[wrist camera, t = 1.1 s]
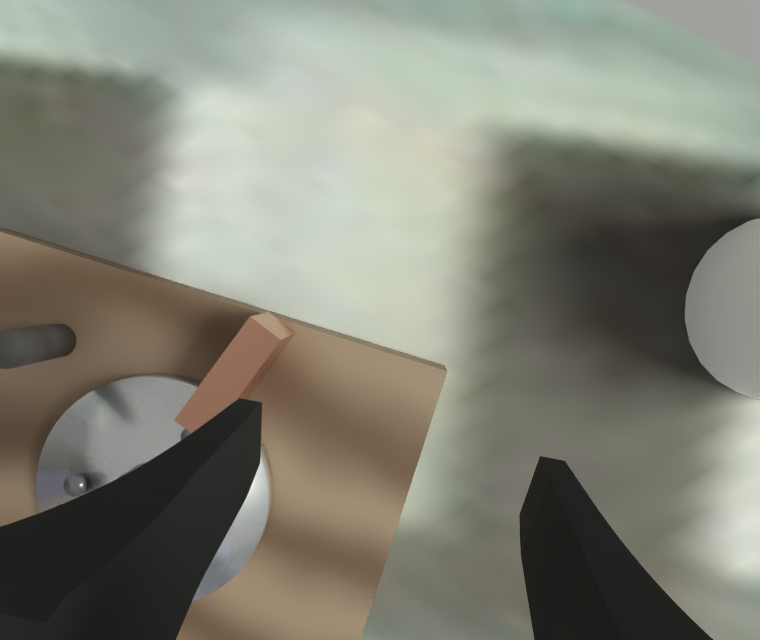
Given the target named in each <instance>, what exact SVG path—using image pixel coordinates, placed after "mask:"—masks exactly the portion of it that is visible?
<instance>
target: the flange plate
mask: <svg viewBox="0 0 760 640" xmlns="http://www.w3.org/2000/svg"><path fill="white" fill-rule="evenodd" d="M295 333H296V332H294V331H293V330H292V329H290V328H289V327H288V326H286V325H285V324H284V323H282V322H281V321H280V320H278V319H277V318H276V317H274V316H273V315H272V314H270V313H269V312H266V313H262V314H258V315H254V316H250V317H249V318H248V320H247V321H246V322H245V324H244V325H243V326H242V328H241V329H240V331H239V332H238V333H237V335H236V336H235V337H234V339H233V340H232V341H231V343H230V344H229V346H228V347H227V348H226V350H225V351H224V352H223V354H222V355H221V356H220V358H219V359H218V361H217V362H216V363H215V365H214V366H213V367H212V369H211V370H210V371H209V373H208V374H207V376H206V377H205V378H204V380H203V381H202V382H198V381H195V380H192V379H190V378H187V377H182V376H177V375H172V374H158V373H155V374H141V375H136V376H131V377H127V378H124V379H121V380H118V381H115V382H112V383H109V384H107V385H104V386H101V387H99V388H97V389H95V390H93V391H91V392H89V393H88V394H86V395H85V396H83V397H82V398H81V399H79V400H78V401H76V402H75V403H74V404H73V405H72V406H71V407H70V408H69V409H68V410H66V411H65V413H64V414H63V415H62V416H61V417H60V419H59V420H58V421H57V422H56V424H55V425H54V427H53V429H52V430H51V432H50V434H49V435H48V437H47V440H46V442H45V444H44V447H43V449H42V452H41V456H40V459H39V463H38V470H37V477H36V495H37V503H38V509H39V513H41V512H43V511H46V510H49V509H51V508H54V507H56V506H59V505H61V504H64V503H66V502H68V501H71V500H73V499H75V498H77V497H79V496H82V495H84V494H86V493H88V492H91V491H93V490H95V489H97V488H100V487H102V486H104V485H106V484H108V483H110V482H112V481H114V480H116V479H118V478H120V477H121V476H123V475H125V474H127V473H129V472H131V471H133V470H135V469H136V468H138V467H140V466H141V465H143V464H145V463H147V462H148V461H150V460H151V459H153V458H155V457H156V456H158V455H159V454H161V453H162V452H164V451H166V450H167V449H169V448H170V447H172V446H173V445H175V444H176V443H178V442H179V441H181V440H182V439H184V438H185V437H187V436H188V435H189V434H191V433H192V432H194V431H195V430H197V429H198V428H199V427H201V426H202V425H203V424H205V423H206V422H208V421H209V420H210V419H212V418H213V417H214V416H216V415H217V414H218V413H220V412H221V411H222V410H224V409H225V408H226V407H228V406H229V405H230V404H232V403H233V402H235V401H236V400H238V399H239V398H242V399H246V398H247V397H248V396H249V394H250V393H251V392H252V390H253V389H254V388H255V386H256V385H257V384H258V382H259V381H260V380H261V378H262V377H263V376H264V374H265V373H266V371H267V370H268V369H269V367H270V366H271V365H272V363H273V362H274V361H275V359H276V358H277V357H278V355H279V354H280V353H281V351H282V350H283V349H284V347H285V346H286V345H287V343H288V342H289V341H290V339H291V338H292V337H293V335H294V334H295ZM272 502H273V478H272V470H271V466H270V461H269V457H268V454H267V452H266V449H265V446H264V443H263V442H262V440H261V457H260V465H259V467H258V470H257V472H256V475H255V478H254V480H253V483H252V485H251V488H250V490H249V493H248V495H247V497H246V499H245V501H244V503H243V505H242V507H241V509H240V511H239V512H238V514H237V516H236V518H235V520H234V522H233V524H232V525H231V527H230V529H229V531H228V533H227V535H226V536H225V538H224V540H223V542H222V544H221V546H220V547H219V549H218V551H217V553H216V555H215V556H214V558H213V560H212V562H211V564H210V566H209V567H208V569H207V571H206V573H205V575H204V577H203V579H202V581H201V583H200V585H199V587H198V589H197V591H196V593H195V596H194V598H193V600H192V601H194V600H197V599H200V598H202V597H204V596H206V595H209V594H211V593H213V592H214V591H216V590H217V589H219V588H221V587H222V586H224V585H225V584H226V583H227V582H229V581H230V580H231V579H232V578H233V577H234V576H236V575H237V573H238V572H239V571H240V570H241V569H242V568H243V567H244V566H245V564H246V563H247V561H248V560H249V558H250V557H251V555H252V554H253V552H254V551H255V549H256V547H257V545H258V543H259V541H260V539H261V537H262V535H263V533H264V531H265V529H266V526H267V523H268V520H269V517H270V513H271V507H272Z"/></svg>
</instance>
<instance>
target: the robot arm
mask: <svg viewBox="0 0 760 640" xmlns="http://www.w3.org/2000/svg"><path fill="white" fill-rule="evenodd" d="M261 426H262V402H258V401H252V400H247V399H242V398H239V399H238V400H236V401H235V402H233V403H232V404H230V405H229V406H228V407H226V408H225V409H224V410H222V411H221V412H220V413H218V414H217V415H216V416H214V417H213V418H212V419H210V420H209V421H208V422H206V423H205V424H203V425H202V426H201V427H199V428H198V429H197V430H195V431H194V432H192V433H191V434H189V435H188V436H187V437H185V438H184V439H182V440H181V441H179V442H178V443H176V444H175V445H173V446H172V447H170V448H169V449H167V450H166V451H164V452H162V453H161V454H159V455H158V456H156V457H155V458H153V459H151V460H150V461H148V462H147V463H145V464H143V465H141V466H140V467H138V468H136V469H135V470H133V471H131V472H129V473H127V474H125V475H123V476H121V477H120V478H118V479H116V480H114V481H112V482H110V483H108V484H106V485H104V486H102V487H100V488H97V489H95V490H93V491H91V492H88V493H86V494H84V495H82V496H79V497H77V498H75V499H73V500H71V501H68V502H66V503H64V504H61V505H59V506H56V507H54V508H51V509H49V510H46V511H43V512H41V513H38V514H35V515H33V516H30V517H27V518H24V519H22V520H19V521H16V522H13V523H10V524H7V525H4V526H1V527H0V640H176V638H177V636H178V633H179V631H180V629H181V626H182V624H183V622H184V619H185V617H186V615H187V612H188V610H189V607H190V605H191V603H192V600H193V598H194V596H195V593H196V591H197V589H198V587H199V585H200V583H201V581H202V579H203V577H204V575H205V573H206V571H207V569H208V567H209V566H210V564H211V562H212V560H213V558H214V556H215V555H216V553H217V551H218V549H219V547H220V546H221V544H222V542H223V540H224V538H225V536H226V535H227V533H228V531H229V529H230V527H231V525H232V524H233V522H234V520H235V518H236V516H237V514H238V512H239V511H240V509H241V507H242V505H243V503H244V501H245V499H246V497H247V495H248V493H249V490H250V488H251V485H252V483H253V480H254V478H255V475H256V472H257V470H258V467H259V465H260V457H261ZM520 545H521V558H522V565H523V571H524V577H525V584H526V590H527V596H528V602H529V608H530V614H531V621H532V627H533V633H534V639H535V640H713V639H712V638H711V637H710V636H708V635H707V634H706V633H705V632H704V631H703V630H702V629H701V628H700V627H699V626H698V625H697V624H696V623H695V622H694V621H693V620H692V619H691V618H690V617H689V616H688V615H687V614H686V613H685V612H684V611H683V610H682V609H681V608H680V607H679V606H678V605H677V604H676V603H675V602H674V601H673V600H672V599H671V598H670V597H669V596H668V595H667V594H666V593H665V591H664V590H663V589H662V588H661V587H660V586H659V585H658V584H657V583H656V582H655V581H654V580H653V578H652V577H651V576H650V575H649V574H648V573H647V572H646V570H645V569H644V568H643V567H642V566H641V565H640V563H639V562H638V561H637V560H636V558H635V557H634V556H633V555H632V554H631V552H630V551H629V550H628V549H627V547H626V546H625V545H624V544H623V542H622V541H621V540H620V539H619V537H618V536H617V535H616V533H615V532H614V531H613V529H612V528H611V527H610V525H609V524H608V523H607V521H606V520H605V519H604V517H603V516H602V514H601V513H600V512H599V510H598V509H597V507H596V506H595V505H594V503H593V502H592V500H591V499H590V497H589V496H588V494H587V493H586V491H585V490H584V489H583V487H582V486H581V484H580V483H579V481H578V480H577V478H576V477H575V475H574V474H573V472H572V471H571V469H570V468H569V466H568V465H567V464H566V462H565V461H562V460H557V459H552V458H547V457H541V456H540V458H539V461H538V464H537V467H536V470H535V472H534V475H533V478H532V481H531V484H530V487H529V489H528V492H527V495H526V498H525V501H524V504H523V506H522V509H521V512H520Z"/></svg>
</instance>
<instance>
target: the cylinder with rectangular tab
mask: <svg viewBox="0 0 760 640" xmlns="http://www.w3.org/2000/svg"><path fill="white" fill-rule="evenodd" d="M685 323H686V328H687V333H688V337H689V342H690V344H691V346H692V348H693V350H694V352H695V354H696V355H697V357H698V359H699V361H700V363H701V364H702V365H703V366H704V367H705V368H706V369H707V370H708V372H709V373H710V374H711V375H712V376H713V377H714V378H715V379H716V380H717V381H719V382H720V383H722V384H724V385H725V386H727V387H729V388H730V389H732V390H734V391H735V392H737V393H740V394H743V395H746V396H749V397H752V398H755V399H758V400H760V218H758V219H754V220H750V221H748V222H746V223H744V224H742V225H740V226H738V227H737V228H735V229H733V230H731V231H729V232H727V233H726V234H725V235H724V236H723V237H722V238H720V239H719V240H718V241H717V242H716V243H715V244H714V245H713V246H712V247H711V248H710V249H708V250H707V252H706V254H705V255H704V257H703V258H702V260H701V261H700V263H699V264H698V266H697V267H696V269H695V270H694V272H693V275H692V278H691V281H690V284H689V287H688V290H687V293H686V304H685Z"/></svg>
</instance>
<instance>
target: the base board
mask: <svg viewBox="0 0 760 640" xmlns="http://www.w3.org/2000/svg"><path fill="white" fill-rule="evenodd" d="M266 312H269V313H270V314H272V315H273V316H274V317H276V318H277V319H278V320H280V321H281V322H282V323H284V324H285V325H286V326H288V327H289V328H290V329H292V330H293V331H294V332H296V333H295V334H294V335H293V337H292V338H291V339H290V341H289V342H288V343H287V345H286V346H285V347H284V349H283V350H282V351H281V353H280V354H279V355H278V357H277V358H276V359H275V361H274V362H273V363H272V365H271V366H270V367H269V369H268V370H267V371H266V373H265V374H264V376H263V377H262V378H261V380H260V381H259V382H258V384H257V385H256V386H255V388H254V389H253V390H252V392H251V393H250V394H249V396H248V397H247V398H246V399H247V400H252V401H258V402H262V426H261V440H262V442H263V443H264V446H265V449H266V452H267V454H268V457H269V461H270V466H271V470H272V478H273V502H272V507H271V513H270V517H269V520H268V523H267V526H266V529H265V531H264V533H263V535H262V537H261V539H260V541H259V543H258V545H257V547H256V549H255V551H254V552H253V554H252V555H251V557H250V558H249V560H248V561H247V563H246V564H245V566H244V567H243V568H242V569H241V570H240V571H239V572H238V573H237V575H236V576H234V577H233V578H232V579H231V580H230V581H229V582H227V583H226V584H225V585H224V586H222V587H221V588H219V589H217V590H216V591H214V592H213V593H211V594H209V595H206V596H204V597H202V598H200V599H197V600H194V601H192V603H191V605H190V607H189V610H188V612H187V615H186V617H185V619H184V622H183V624H182V626H181V629H180V631H179V633H178V636H177V638H176V640H360V639H361V636H362V633H363V630H364V627H365V623H366V620H367V617H368V614H369V611H370V608H371V605H372V602H373V599H374V596H375V593H376V590H377V586H378V583H379V580H380V577H381V574H382V571H383V568H384V565H385V562H386V559H387V556H388V552H389V549H390V546H391V543H392V540H393V537H394V534H395V531H396V528H397V525H398V522H399V519H400V515H401V512H402V509H403V506H404V503H405V500H406V497H407V494H408V491H409V488H410V485H411V482H412V478H413V475H414V472H415V469H416V466H417V463H418V460H419V457H420V454H421V451H422V448H423V444H424V441H425V438H426V435H427V432H428V429H429V426H430V423H431V420H432V417H433V414H434V411H435V407H436V404H437V401H438V398H439V395H440V392H441V389H442V386H443V383H444V380H445V377H446V374H447V370H446V368H445V366H444V365H440V364H437V363H434V362H431V361H428V360H424V359H421V358H418V357H415V356H411V355H408V354H405V353H402V352H399V351H395V350H392V349H389V348H386V347H383V346H379V345H376V344H373V343H370V342H367V341H363V340H360V339H357V338H354V337H350V336H347V335H344V334H341V333H338V332H334V331H331V330H328V329H325V328H322V327H318V326H315V325H312V324H309V323H306V322H302V321H299V320H296V319H293V318H290V317H286V316H283V315H280V314H277V313H273V312H270V311H267V310H264V309H261V308H257V307H254V306H251V305H248V304H245V303H241V302H238V301H235V300H232V299H229V298H225V297H222V296H219V295H216V294H213V293H209V292H206V291H203V290H200V289H196V288H193V287H190V286H187V285H184V284H180V283H177V282H174V281H171V280H168V279H164V278H161V277H158V276H155V275H152V274H148V273H145V272H142V271H139V270H135V269H132V268H129V267H126V266H123V265H119V264H116V263H113V262H110V261H107V260H103V259H100V258H97V257H94V256H91V255H87V254H84V253H81V252H78V251H75V250H71V249H68V248H65V247H62V246H58V245H55V244H52V243H49V242H46V241H42V240H39V239H36V238H33V237H30V236H26V235H23V234H20V233H17V232H14V231H10V230H7V229H0V527H1V526H4V525H7V524H10V523H13V522H16V521H19V520H22V519H24V518H27V517H30V516H33V515H35V514H38V513H39V509H38V503H37V495H36V477H37V470H38V463H39V459H40V456H41V452H42V449H43V447H44V444H45V442H46V440H47V437H48V435H49V434H50V432H51V430H52V429H53V427H54V425H55V424H56V422H57V421H58V420H59V419H60V417H61V416H62V415H63V414H64V413H65V411H66V410H68V409H69V408H70V407H71V406H72V405H73V404H74V403H75V402H76V401H78V400H79V399H81V398H82V397H83V396H85V395H86V394H88V393H89V392H91V391H93V390H95V389H97V388H99V387H101V386H104V385H107V384H109V383H112V382H115V381H118V380H121V379H124V378H127V377H131V376H136V375H141V374H155V373H158V374H172V375H177V376H182V377H187V378H190V379H192V380H195V381H198V382H202V381H203V380H204V378H205V377H206V376H207V374H208V373H209V371H210V370H211V369H212V367H213V366H214V365H215V363H216V362H217V361H218V359H219V358H220V356H221V355H222V354H223V352H224V351H225V350H226V348H227V347H228V346H229V344H230V343H231V341H232V340H233V339H234V337H235V336H236V335H237V333H238V332H239V331H240V329H241V328H242V326H243V325H244V324H245V322H246V321H247V320H248V318H249V317H250V316H254V315H258V314H262V313H266Z"/></svg>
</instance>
